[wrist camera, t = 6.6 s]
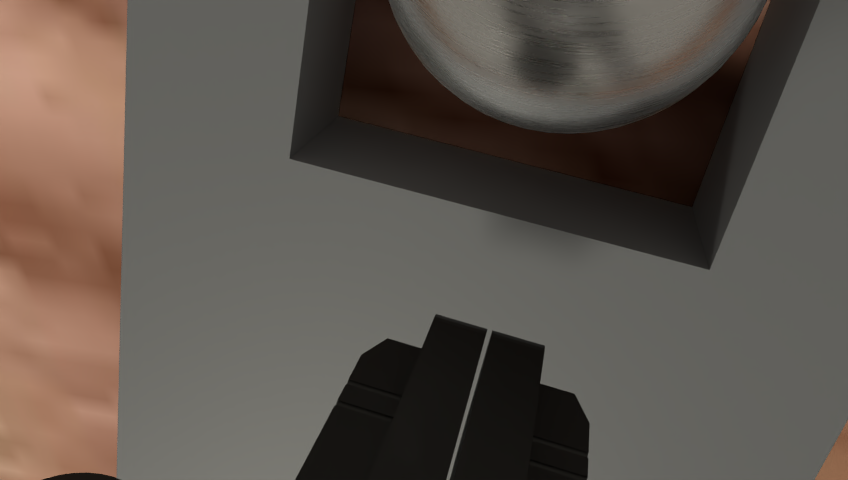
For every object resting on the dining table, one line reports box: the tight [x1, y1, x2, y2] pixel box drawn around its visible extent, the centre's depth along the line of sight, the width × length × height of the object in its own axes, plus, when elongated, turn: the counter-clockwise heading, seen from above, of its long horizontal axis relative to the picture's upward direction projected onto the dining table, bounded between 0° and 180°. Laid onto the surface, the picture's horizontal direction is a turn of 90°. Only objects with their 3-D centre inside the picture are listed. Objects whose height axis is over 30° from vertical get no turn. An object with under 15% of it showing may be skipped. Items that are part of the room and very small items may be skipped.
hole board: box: [117, 0, 848, 480], centre depth 14 cm, size 12×26×2 cm, turn 169°
